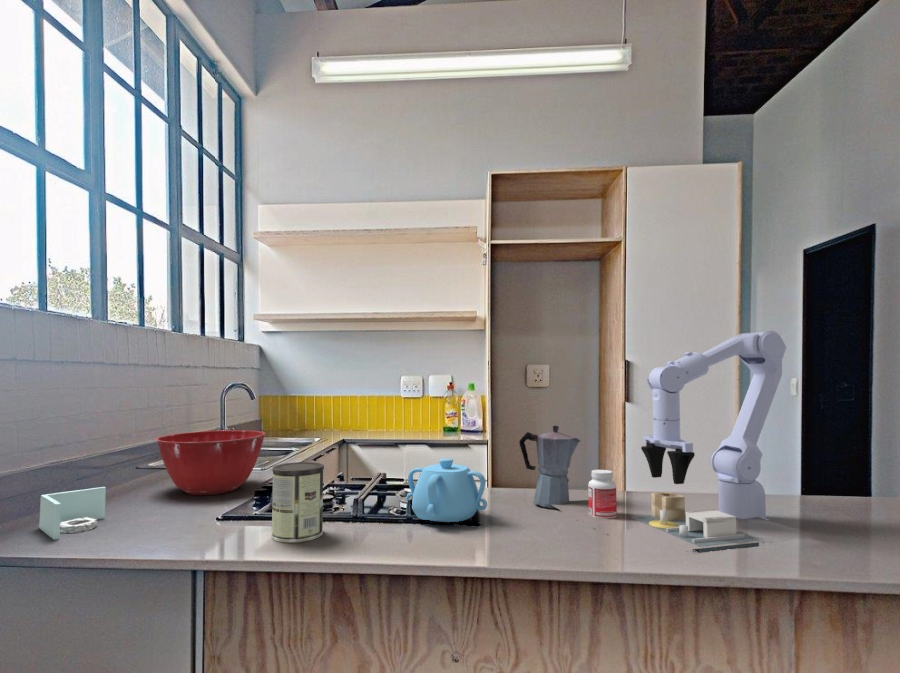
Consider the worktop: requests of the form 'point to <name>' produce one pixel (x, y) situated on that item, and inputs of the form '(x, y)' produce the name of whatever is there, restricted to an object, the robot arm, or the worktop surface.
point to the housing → (711, 522)
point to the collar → (668, 505)
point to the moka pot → (551, 465)
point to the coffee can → (297, 502)
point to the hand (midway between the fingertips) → (667, 480)
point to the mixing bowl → (210, 459)
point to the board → (695, 533)
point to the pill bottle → (602, 495)
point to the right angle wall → (71, 511)
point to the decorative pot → (446, 492)
